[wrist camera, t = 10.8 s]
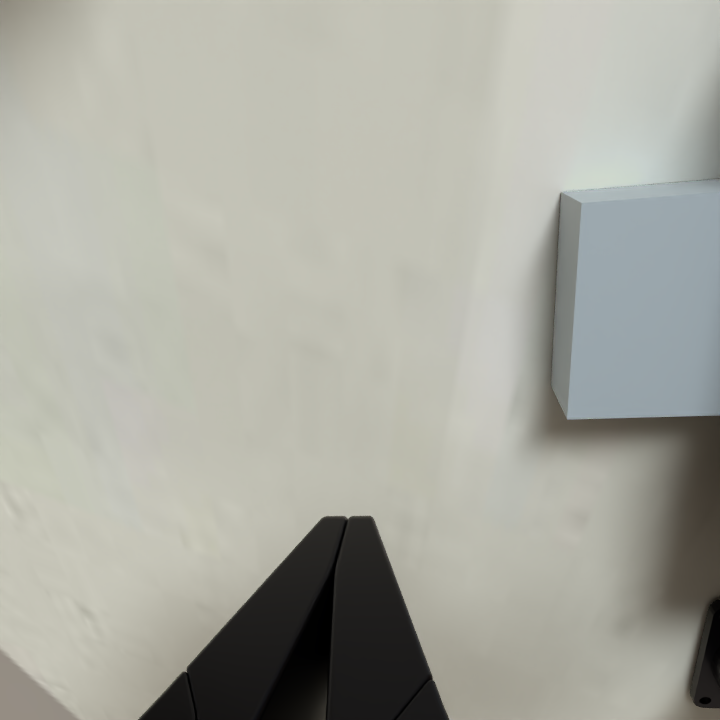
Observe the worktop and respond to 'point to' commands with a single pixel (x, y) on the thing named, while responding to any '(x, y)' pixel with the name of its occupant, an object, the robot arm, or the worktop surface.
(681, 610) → the worktop surface
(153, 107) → the worktop surface
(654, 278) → the pale blue eraser
